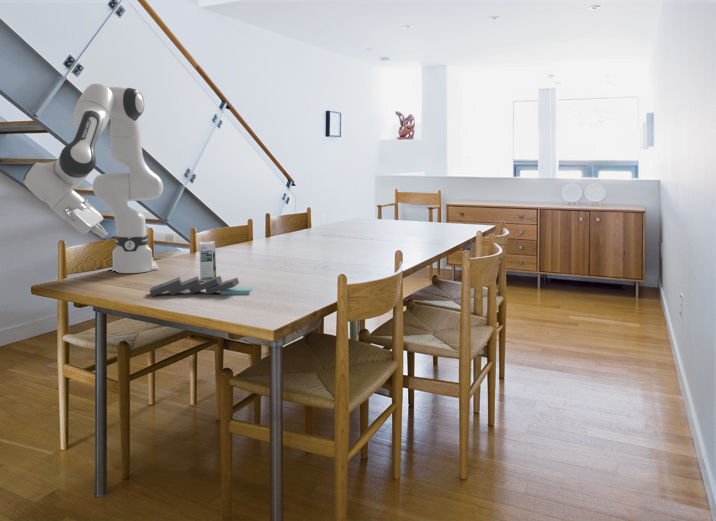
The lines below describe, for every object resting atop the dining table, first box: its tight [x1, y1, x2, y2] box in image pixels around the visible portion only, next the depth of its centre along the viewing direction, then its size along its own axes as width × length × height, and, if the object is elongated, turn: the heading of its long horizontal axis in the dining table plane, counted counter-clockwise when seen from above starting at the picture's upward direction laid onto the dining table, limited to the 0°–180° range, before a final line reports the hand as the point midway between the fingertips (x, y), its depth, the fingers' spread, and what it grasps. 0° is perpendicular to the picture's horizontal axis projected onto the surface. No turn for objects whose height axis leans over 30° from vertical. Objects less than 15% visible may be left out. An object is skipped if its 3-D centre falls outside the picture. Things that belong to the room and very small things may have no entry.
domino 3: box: [188, 275, 223, 295], centre depth 195 cm, size 2×5×10 cm
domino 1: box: [149, 276, 183, 297], centre depth 193 cm, size 2×5×10 cm
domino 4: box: [204, 277, 240, 295], centre depth 195 cm, size 2×5×10 cm
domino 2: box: [168, 276, 201, 296], centre depth 194 cm, size 2×5×10 cm
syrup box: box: [198, 241, 217, 283], centre depth 214 cm, size 6×6×14 cm
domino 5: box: [219, 286, 253, 295], centre depth 196 cm, size 2×5×10 cm
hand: (106, 236), depth 186 cm, fingers closed
